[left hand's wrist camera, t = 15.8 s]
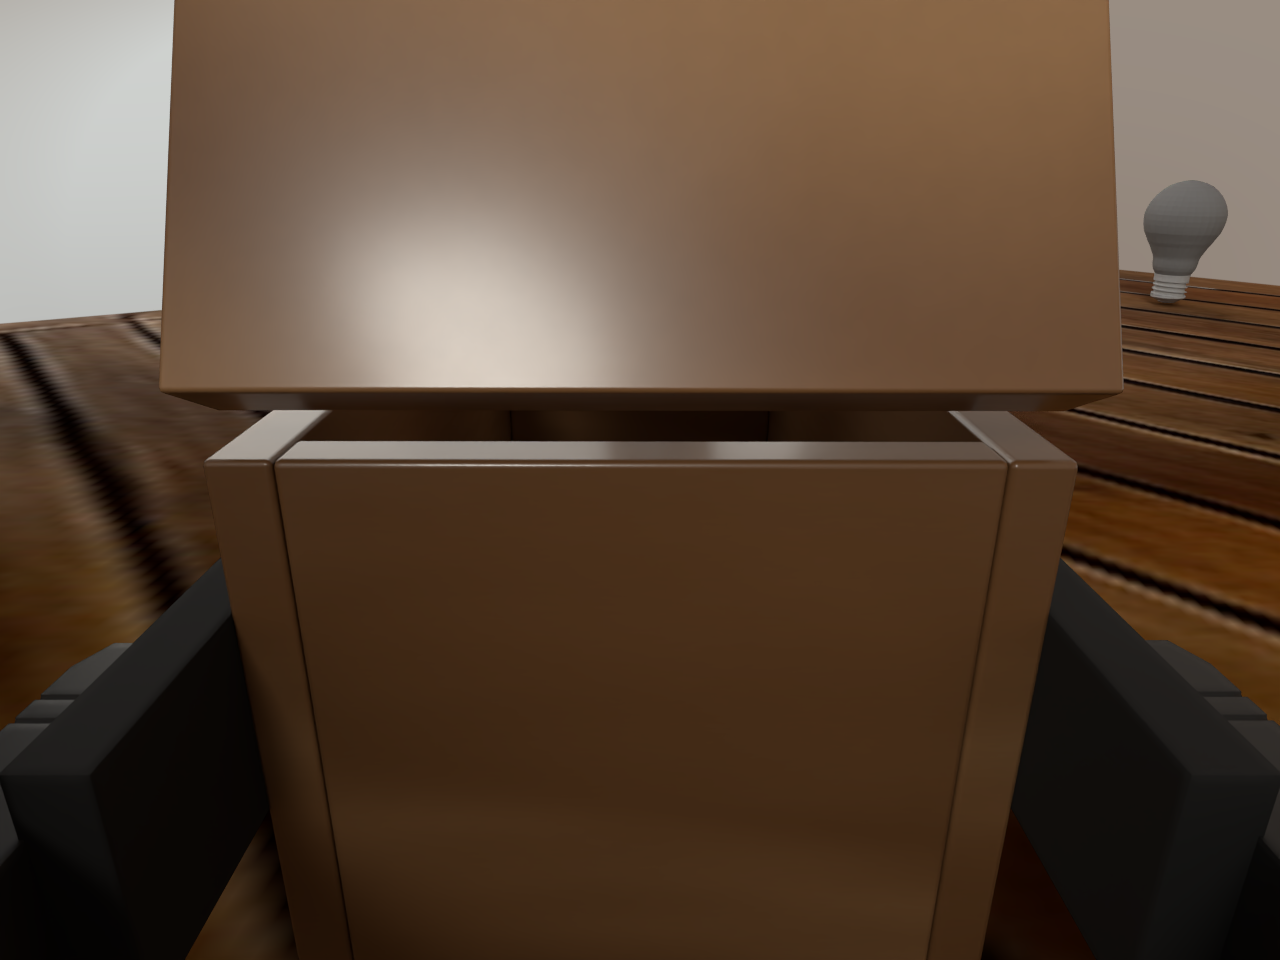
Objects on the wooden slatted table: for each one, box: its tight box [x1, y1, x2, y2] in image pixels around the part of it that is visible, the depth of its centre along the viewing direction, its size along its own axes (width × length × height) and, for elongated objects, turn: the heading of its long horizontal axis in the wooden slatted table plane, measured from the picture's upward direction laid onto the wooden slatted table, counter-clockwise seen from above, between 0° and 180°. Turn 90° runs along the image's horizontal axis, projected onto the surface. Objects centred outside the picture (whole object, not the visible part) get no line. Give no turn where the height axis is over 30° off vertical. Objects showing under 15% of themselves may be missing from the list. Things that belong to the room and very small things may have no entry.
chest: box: [204, 410, 1077, 960], centre depth 18 cm, size 17×9×10 cm, turn 0°
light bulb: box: [1144, 180, 1228, 303], centre depth 74 cm, size 6×6×10 cm
